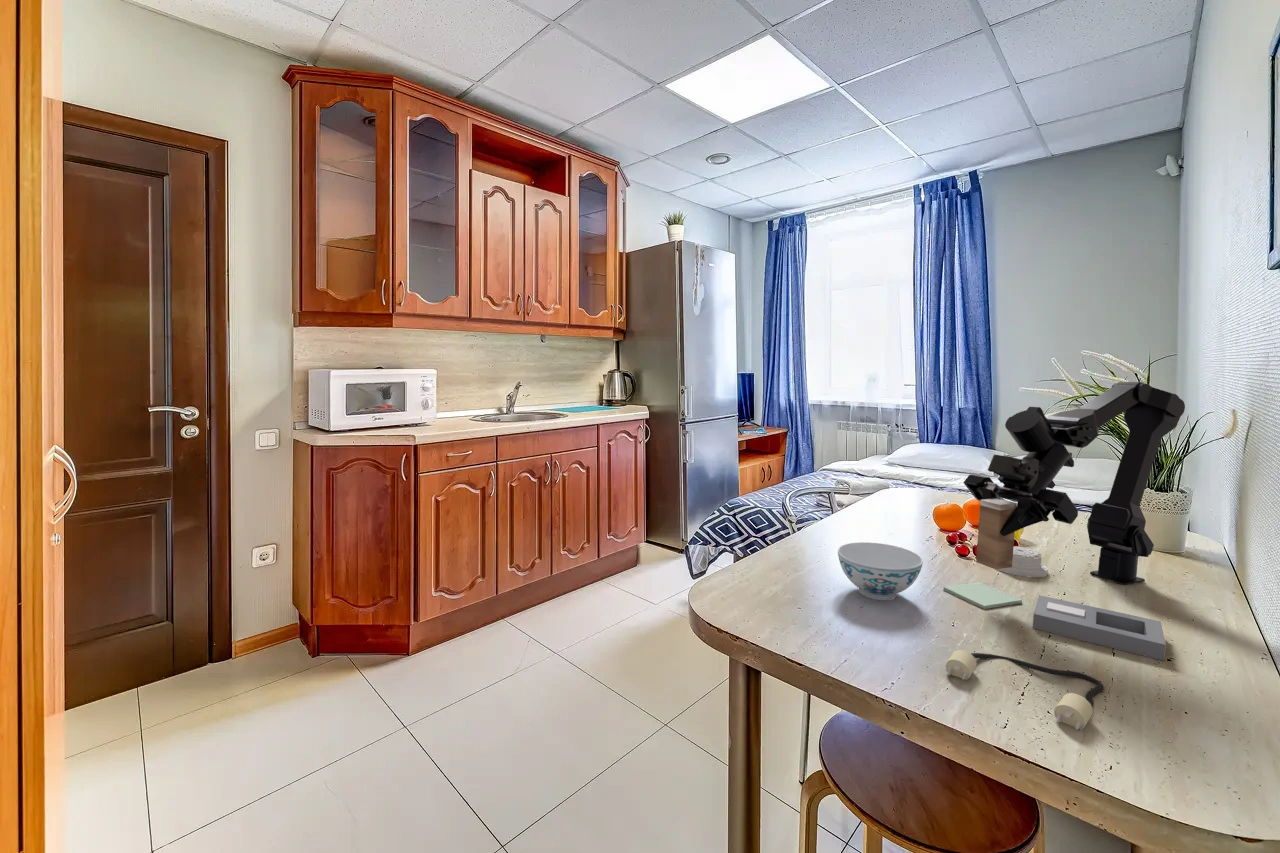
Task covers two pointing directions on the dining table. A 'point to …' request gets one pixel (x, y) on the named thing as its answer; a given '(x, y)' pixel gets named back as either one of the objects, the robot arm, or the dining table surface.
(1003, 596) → the mat
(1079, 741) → the dining table surface
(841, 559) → the chinaware
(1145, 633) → the socket block
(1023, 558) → the mechanical component
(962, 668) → the cable
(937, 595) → the dining table surface
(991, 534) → the plug
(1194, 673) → the dining table surface
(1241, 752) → the dining table surface
